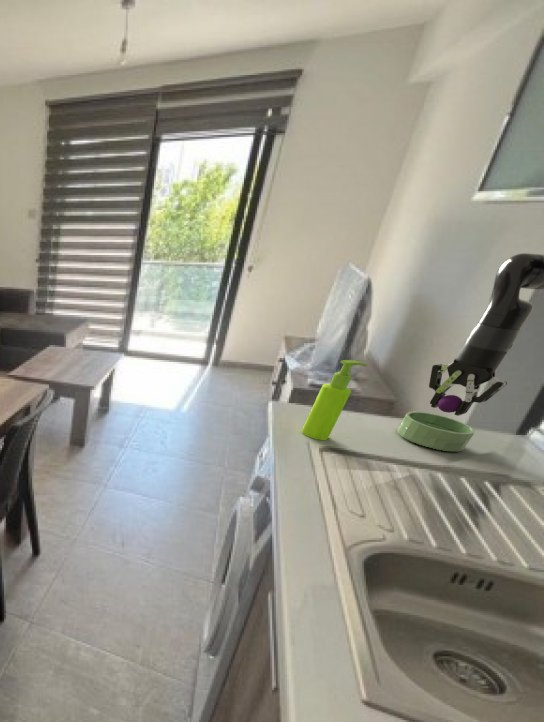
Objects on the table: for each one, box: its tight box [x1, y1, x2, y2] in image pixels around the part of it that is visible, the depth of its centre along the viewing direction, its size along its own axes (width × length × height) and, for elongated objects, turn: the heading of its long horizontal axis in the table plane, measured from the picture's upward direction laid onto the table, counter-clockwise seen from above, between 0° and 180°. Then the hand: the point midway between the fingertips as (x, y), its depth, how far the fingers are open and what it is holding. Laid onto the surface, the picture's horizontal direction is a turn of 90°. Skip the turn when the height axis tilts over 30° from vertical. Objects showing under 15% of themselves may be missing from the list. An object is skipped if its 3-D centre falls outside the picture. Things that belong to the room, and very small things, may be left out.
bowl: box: [396, 411, 476, 452], centre depth 124 cm, size 13×13×6 cm
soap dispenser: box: [301, 359, 368, 441], centre depth 120 cm, size 6×7×20 cm
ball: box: [437, 394, 463, 413], centre depth 120 cm, size 4×4×4 cm
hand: (446, 410), depth 121 cm, fingers closed on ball, 4 cm apart
